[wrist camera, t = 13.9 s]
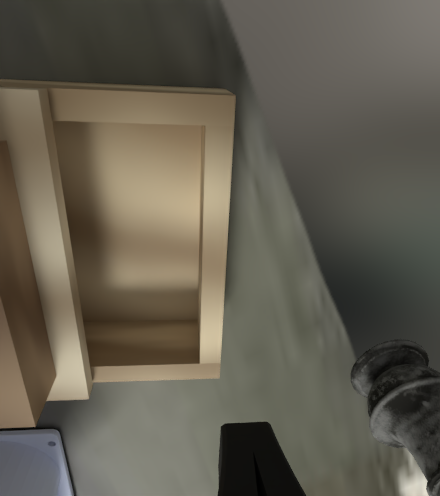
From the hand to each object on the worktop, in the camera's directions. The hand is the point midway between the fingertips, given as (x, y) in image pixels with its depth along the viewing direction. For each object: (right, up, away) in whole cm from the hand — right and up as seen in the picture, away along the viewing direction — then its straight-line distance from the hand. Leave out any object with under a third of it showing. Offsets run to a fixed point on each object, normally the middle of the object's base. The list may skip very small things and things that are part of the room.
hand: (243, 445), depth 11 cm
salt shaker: (+11, -2, +14) cm, 18 cm away
